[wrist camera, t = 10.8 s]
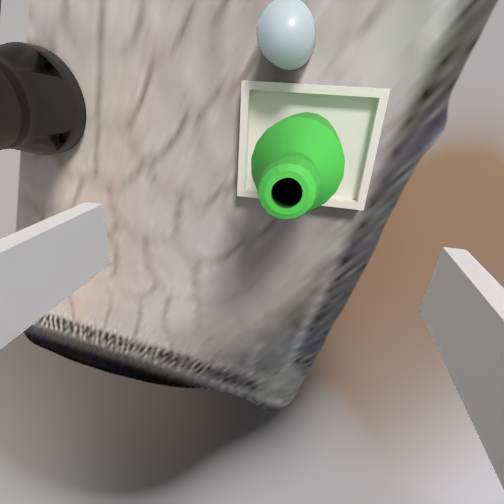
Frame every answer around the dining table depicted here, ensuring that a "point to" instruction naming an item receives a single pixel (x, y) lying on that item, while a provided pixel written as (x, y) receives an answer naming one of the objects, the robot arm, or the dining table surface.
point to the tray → (331, 108)
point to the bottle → (297, 165)
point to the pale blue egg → (286, 34)
